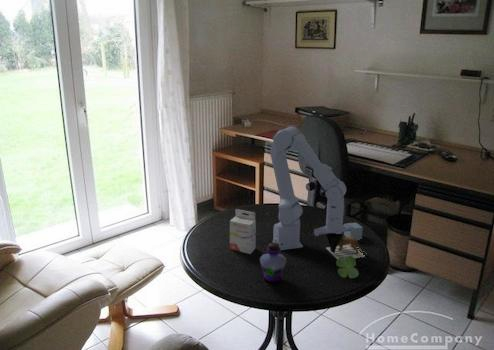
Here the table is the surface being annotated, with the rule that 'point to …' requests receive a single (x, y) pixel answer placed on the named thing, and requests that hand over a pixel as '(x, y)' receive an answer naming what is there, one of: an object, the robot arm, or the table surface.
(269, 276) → the potion bottle
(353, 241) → the lion figurine
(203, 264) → the table surface
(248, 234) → the ink cartridge box
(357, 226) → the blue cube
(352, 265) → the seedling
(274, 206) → the table surface
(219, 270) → the table surface
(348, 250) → the white slatted trivet
